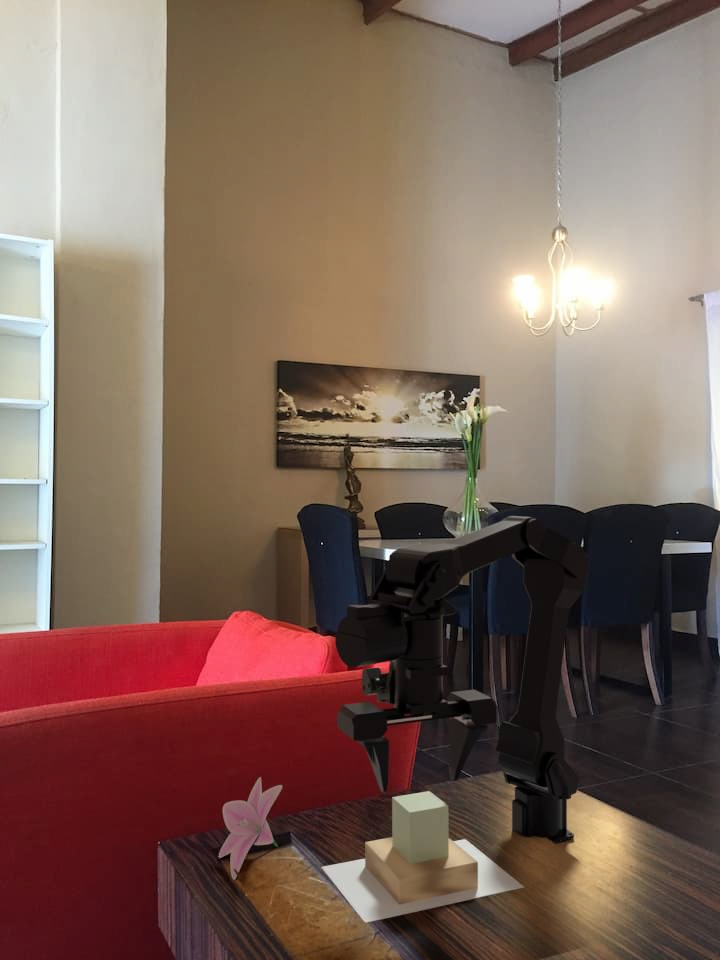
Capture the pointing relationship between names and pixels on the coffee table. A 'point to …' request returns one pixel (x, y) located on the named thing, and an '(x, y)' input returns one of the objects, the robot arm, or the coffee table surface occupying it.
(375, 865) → the base block
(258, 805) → the lily
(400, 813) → the top block
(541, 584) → the robot arm
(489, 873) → the white rectangular plate
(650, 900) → the coffee table surface
